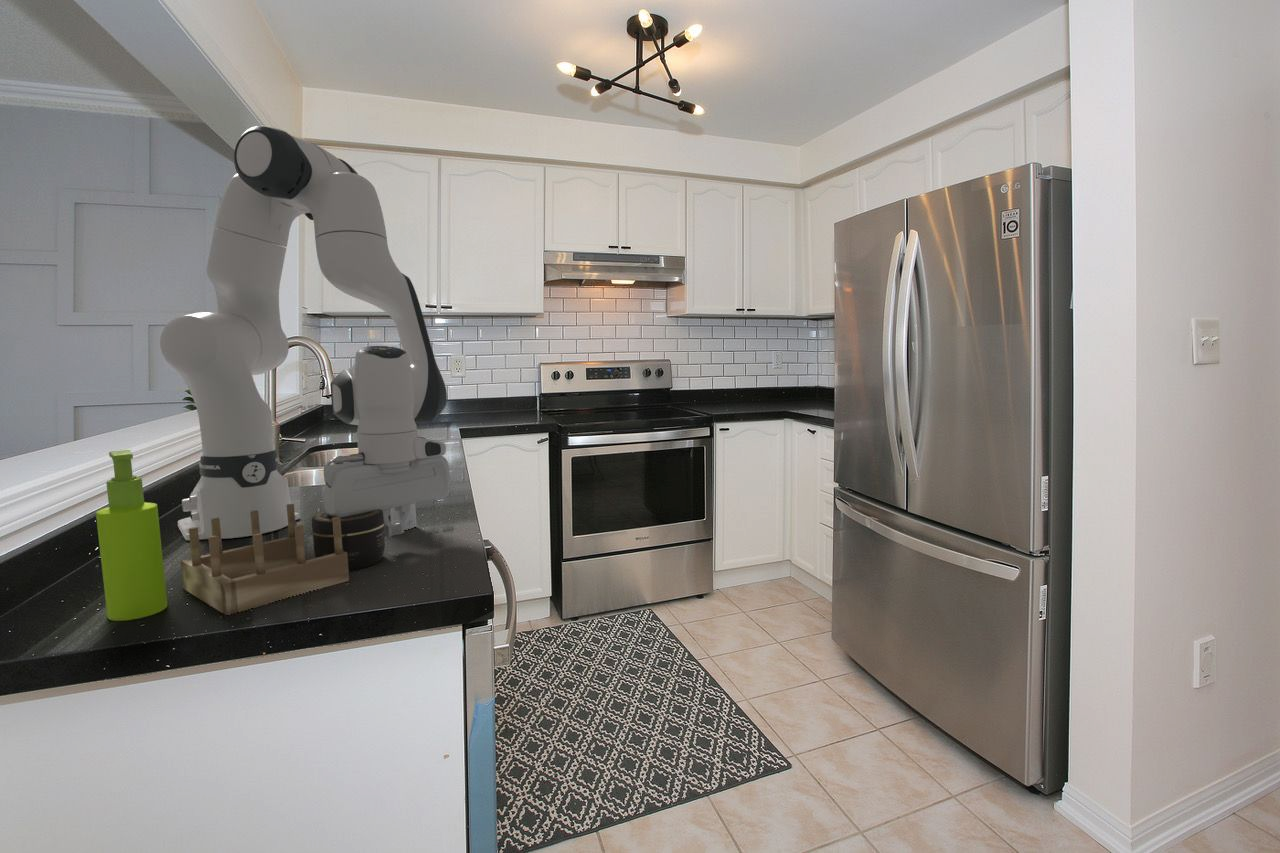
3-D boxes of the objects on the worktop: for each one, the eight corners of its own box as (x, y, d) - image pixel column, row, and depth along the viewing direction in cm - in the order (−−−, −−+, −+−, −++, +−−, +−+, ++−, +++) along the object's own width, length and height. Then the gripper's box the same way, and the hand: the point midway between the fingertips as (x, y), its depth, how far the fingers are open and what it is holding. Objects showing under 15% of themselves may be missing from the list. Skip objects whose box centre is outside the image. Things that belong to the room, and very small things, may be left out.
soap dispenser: (162, 596, 84) (147, 446, 82) (170, 611, 79) (154, 451, 77) (105, 609, 80) (87, 451, 78) (109, 625, 75) (90, 457, 73)
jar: (305, 575, 92) (301, 523, 91) (325, 554, 102) (322, 507, 101) (378, 570, 94) (375, 518, 93) (392, 549, 103) (389, 503, 103)
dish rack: (183, 588, 87) (177, 524, 86) (299, 560, 99) (294, 502, 98) (227, 615, 78) (220, 543, 77) (349, 580, 90) (344, 517, 89)
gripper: (333, 460, 91) (340, 554, 93) (454, 443, 107) (458, 523, 109) (312, 456, 95) (319, 547, 97) (431, 440, 111) (435, 518, 113)
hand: (393, 534), depth 103 cm, fingers closed
